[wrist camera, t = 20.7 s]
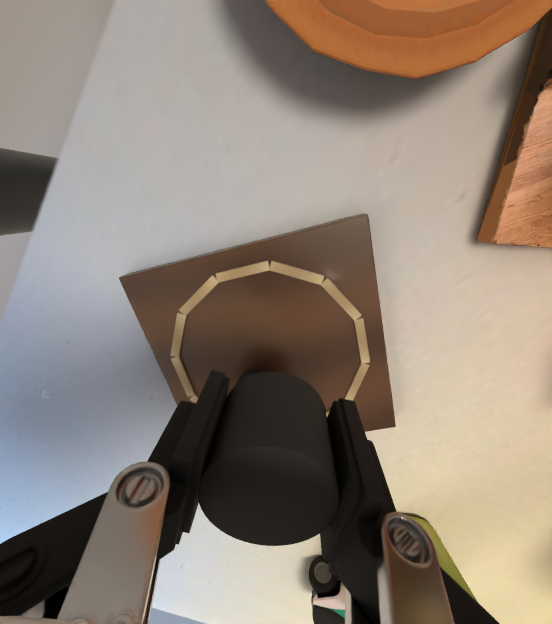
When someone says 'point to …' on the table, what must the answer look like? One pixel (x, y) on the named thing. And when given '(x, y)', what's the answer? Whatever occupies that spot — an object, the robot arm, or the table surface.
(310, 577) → the toy car
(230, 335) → the face board
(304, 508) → the black cylinder
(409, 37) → the pie
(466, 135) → the table surface
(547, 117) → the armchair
